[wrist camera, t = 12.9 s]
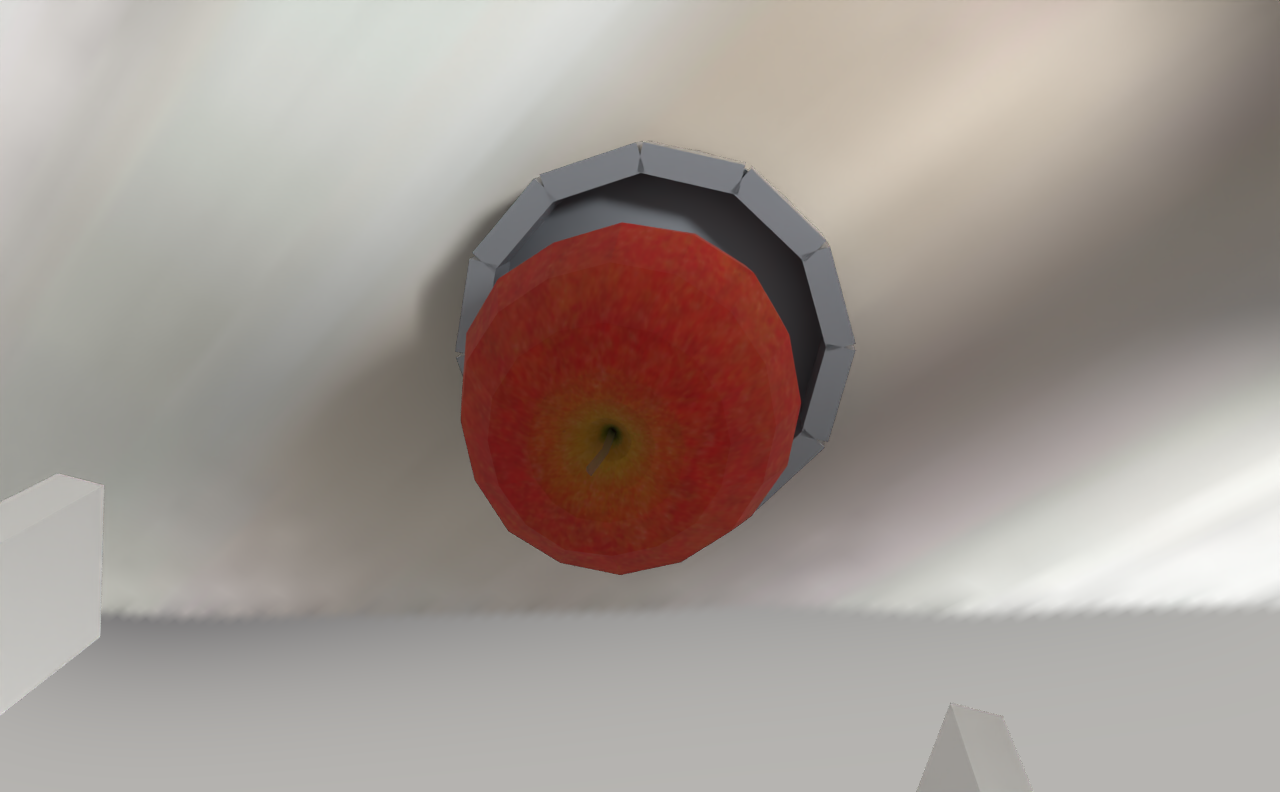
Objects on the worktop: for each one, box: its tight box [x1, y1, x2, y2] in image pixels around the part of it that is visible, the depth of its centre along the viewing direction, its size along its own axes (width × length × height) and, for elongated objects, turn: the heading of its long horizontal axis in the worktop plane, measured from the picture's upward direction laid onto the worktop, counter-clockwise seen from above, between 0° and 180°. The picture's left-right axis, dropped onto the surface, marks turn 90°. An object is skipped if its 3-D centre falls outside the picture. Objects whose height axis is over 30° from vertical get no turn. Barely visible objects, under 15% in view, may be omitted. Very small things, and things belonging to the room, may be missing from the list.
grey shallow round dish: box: [455, 141, 855, 510], centre depth 34 cm, size 14×14×3 cm
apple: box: [461, 222, 801, 575], centre depth 28 cm, size 10×10×14 cm
